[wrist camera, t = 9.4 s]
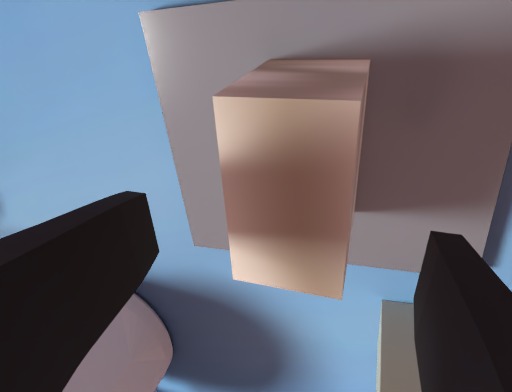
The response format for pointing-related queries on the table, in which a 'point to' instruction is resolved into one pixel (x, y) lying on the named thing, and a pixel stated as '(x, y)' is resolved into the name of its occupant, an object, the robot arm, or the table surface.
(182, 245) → the table surface
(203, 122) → the slate plate
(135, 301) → the mug
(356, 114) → the tan block
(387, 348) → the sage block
